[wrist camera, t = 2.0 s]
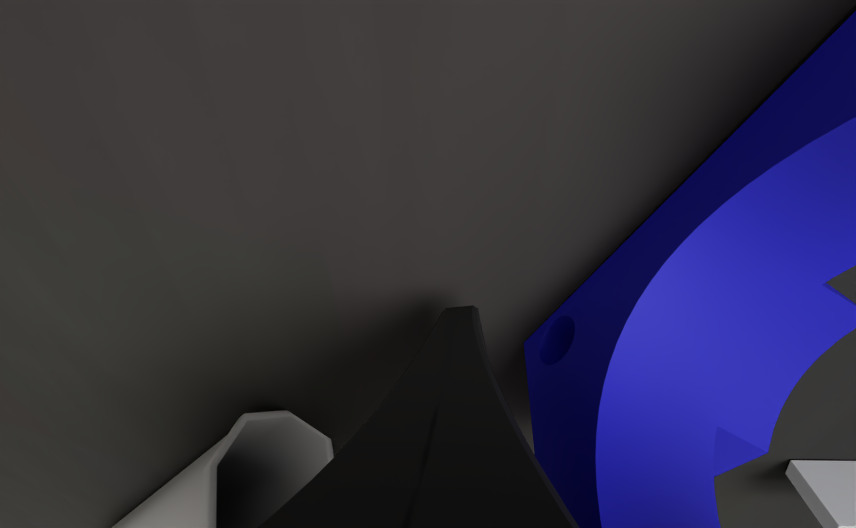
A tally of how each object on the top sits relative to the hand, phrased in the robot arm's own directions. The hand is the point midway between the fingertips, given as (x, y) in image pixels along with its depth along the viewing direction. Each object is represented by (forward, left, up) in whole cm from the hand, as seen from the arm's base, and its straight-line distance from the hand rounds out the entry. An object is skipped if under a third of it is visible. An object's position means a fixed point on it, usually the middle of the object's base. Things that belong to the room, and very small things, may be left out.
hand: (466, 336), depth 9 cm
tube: (+19, +13, -2) cm, 23 cm away
